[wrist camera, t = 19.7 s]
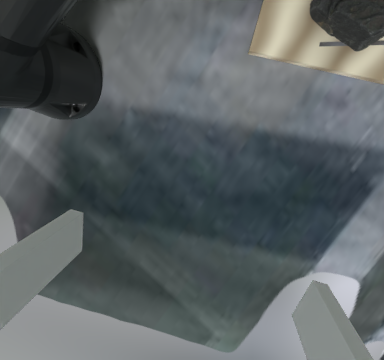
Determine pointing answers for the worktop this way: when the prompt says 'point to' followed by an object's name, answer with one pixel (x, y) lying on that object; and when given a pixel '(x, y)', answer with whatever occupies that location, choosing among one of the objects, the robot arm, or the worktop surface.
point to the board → (311, 43)
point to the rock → (350, 20)
